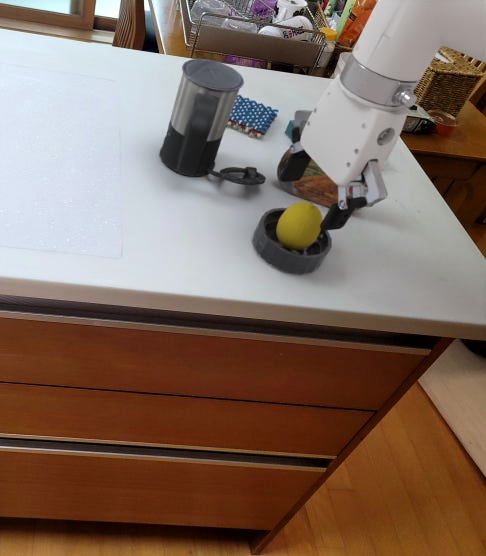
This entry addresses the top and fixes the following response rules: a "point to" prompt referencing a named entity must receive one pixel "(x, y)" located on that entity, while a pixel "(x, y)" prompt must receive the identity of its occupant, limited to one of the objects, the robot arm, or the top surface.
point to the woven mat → (251, 116)
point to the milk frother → (204, 121)
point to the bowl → (284, 257)
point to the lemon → (299, 226)
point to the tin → (313, 184)
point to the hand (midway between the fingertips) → (308, 203)
